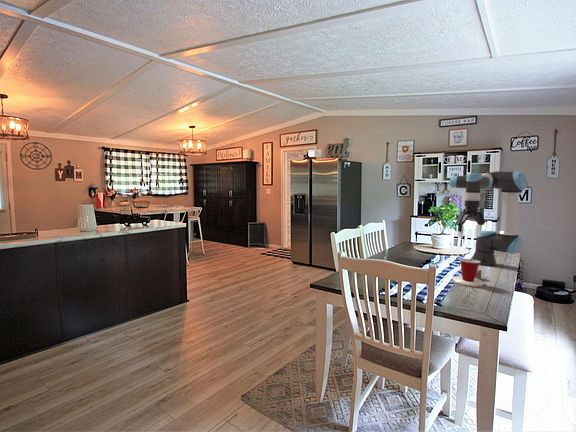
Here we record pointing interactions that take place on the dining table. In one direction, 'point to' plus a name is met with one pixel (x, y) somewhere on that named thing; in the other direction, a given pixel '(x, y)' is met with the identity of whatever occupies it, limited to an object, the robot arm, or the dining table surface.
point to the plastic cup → (469, 269)
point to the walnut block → (478, 274)
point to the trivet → (469, 284)
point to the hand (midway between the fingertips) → (469, 236)
